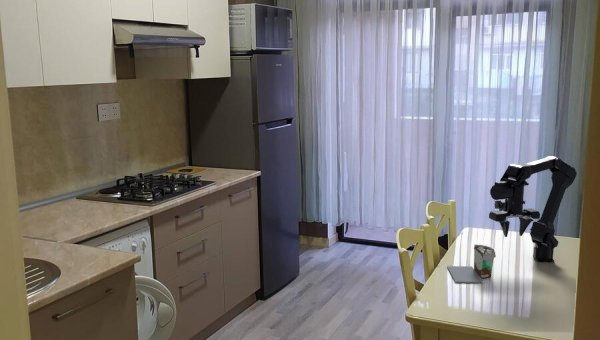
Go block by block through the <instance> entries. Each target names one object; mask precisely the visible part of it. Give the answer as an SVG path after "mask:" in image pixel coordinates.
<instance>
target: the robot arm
mask: <svg viewBox="0 0 600 340" xmlns="http://www.w3.org/2000/svg"><path fill="white" fill-rule="evenodd" d="M544 171H549V172H551V177H550V178H551V183H552V187H551V189H550V192H549V195H548V197H547V199H546V203H545V206H544V208H543V210H542V213H540V212H539V210H536V209H534V208H524V204H525V205H526V200H525V199H524V198H525V197H524V196H525V187H526V186H530V183H529V182H528V181H527V180H528V179H530V178H531V177H532V175H535V174H538V173H541V172H544ZM576 178H577V171H576V169H575V167H574V166H571V165H569V164H568V163H567V162H565V161H563V160H562V159H561V158H560V157H559V156H553V155H552V156H551V155H549V156H546V157H544V158H541V159H536V160H534V161H530V162H526V163H511V164H508V166H507V168H506V169H505V172H504V173H503V174H502V176H501V178H500V179H499V181H495V182H494V184H493V185H492V186H491V188H490V190H489V193H490V196H491V198H492V199H493V200H494V209H495V210H491V211H490V212H489V213H488V218H489V219H491V220H492V221H495V222H498V223H499V225H500V227H501V229H502V233H503V235H504V238H508V235H509V230H510V223H511V222H510V221H509V218H510V219H511V218H518V219H519V228H518V229H519V231H518V233H519V236H520V237H522V236H523V235H524V234H525V231H526V230H527V229H528V227H529V226H530V225H531V223H532V225H531V227H530V229H529V230H530V231H529V236H530V237H531V242H532V243H533V244H535V245H534V247H533V254H532V257H533V258H534V259H535V260H536V261H537V262H538V263H539V262H543V263H546V262H547V263H548V262H549V263H550V262H551V263H554V262H555V259H554V251H555V250H554V249H556V248H557V247H558V246H559V241H558V239H557V237H555V232H556V228H555V224H554V223H555V220H556V217H557V214H558V212H559V208H560V206H561V204H562V200H563V197H564V195H565V192H566V191H567V189H568V188H569V187H571V186H572V185H573V183H574V182H575V179H576ZM502 200H504V202H502ZM502 211H503V212H502ZM535 220H537V221H535Z"/></svg>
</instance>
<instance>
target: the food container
mask: <svg viewBox="0 0 600 340" xmlns="http://www.w3.org/2000/svg"><path fill="white" fill-rule="evenodd" d="M473 251H474V252H473V269H474V270H475V272H476V273H477V275H478V276H479V278H481V280H488V279H491V277H492V272H493V266H494V265H493V264H494V260H495V258H496V251H495V249H494V248H492V247H491V246H488V245H484V244H474V246H473ZM487 278H488V279H487Z"/></svg>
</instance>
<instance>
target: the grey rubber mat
mask: <svg viewBox="0 0 600 340" xmlns="http://www.w3.org/2000/svg"><path fill="white" fill-rule="evenodd" d="M446 269H447V270H448V272H449V274H450V276H451V277H453V278H452V279H453V281H454V283H455V284H483V280H482V279H480V277H479V276H478V275H477V273H476V272H475V270H474V266H472V265H471V266H469V265H467V266H464V265H461V266H460V265H459V266H458V265H456V266H455V265H454V266H453V265H447V266H446Z"/></svg>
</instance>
